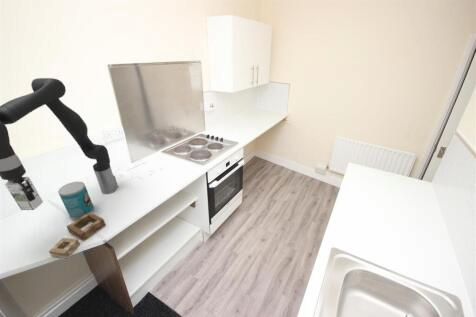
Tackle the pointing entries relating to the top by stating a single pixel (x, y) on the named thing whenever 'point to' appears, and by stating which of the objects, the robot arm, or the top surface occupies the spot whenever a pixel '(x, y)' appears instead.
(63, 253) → the tan wooden square frame
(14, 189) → the syrup box
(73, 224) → the brown wooden square frame
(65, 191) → the food can
